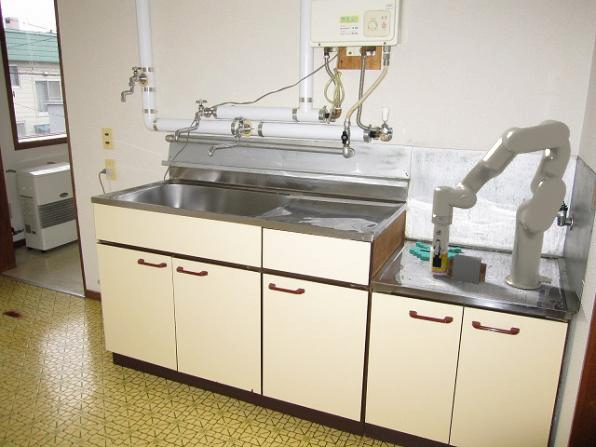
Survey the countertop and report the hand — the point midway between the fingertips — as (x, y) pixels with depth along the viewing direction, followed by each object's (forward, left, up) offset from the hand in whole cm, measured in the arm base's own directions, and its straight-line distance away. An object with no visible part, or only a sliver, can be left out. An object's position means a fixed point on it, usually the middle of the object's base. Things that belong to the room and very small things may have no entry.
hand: (438, 263), depth 188 cm
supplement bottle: (0, 0, -4) cm, 4 cm away
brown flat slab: (-10, 0, -5) cm, 11 cm away
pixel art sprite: (+6, -26, -6) cm, 27 cm away
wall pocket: (-10, 0, -5) cm, 12 cm away
